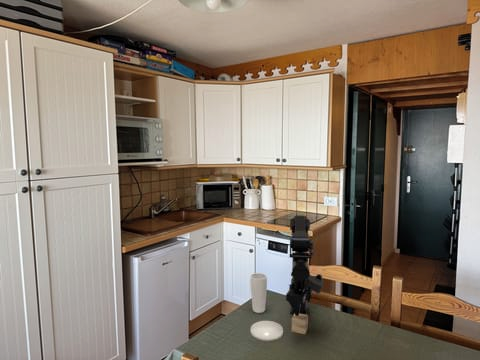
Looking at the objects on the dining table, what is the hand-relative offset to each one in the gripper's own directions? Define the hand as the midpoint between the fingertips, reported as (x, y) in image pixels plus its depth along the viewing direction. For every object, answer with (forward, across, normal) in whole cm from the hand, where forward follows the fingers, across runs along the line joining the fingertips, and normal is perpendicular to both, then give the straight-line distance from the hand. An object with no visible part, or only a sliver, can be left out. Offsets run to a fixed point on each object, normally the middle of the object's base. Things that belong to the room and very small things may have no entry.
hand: (299, 309), depth 126 cm
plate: (+8, -6, +11) cm, 15 cm away
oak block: (+8, 0, 0) cm, 8 cm away
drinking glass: (+8, +8, +19) cm, 22 cm away
